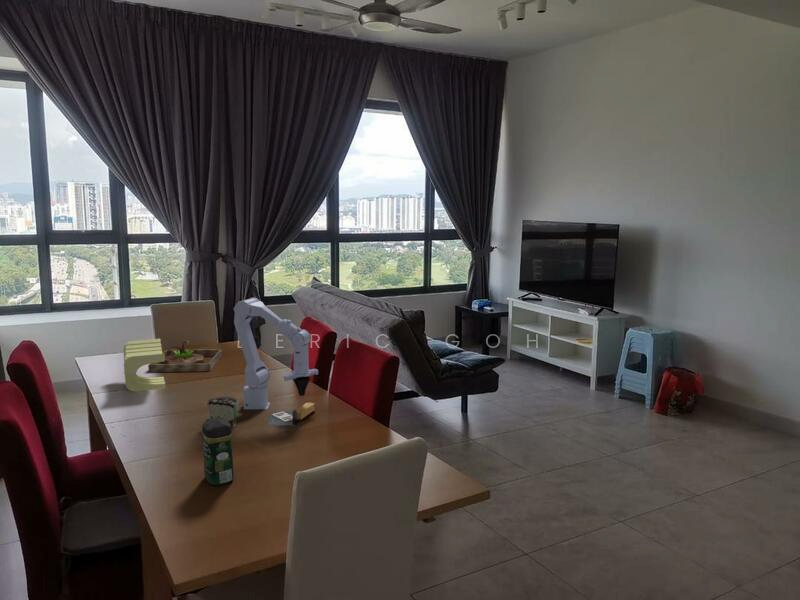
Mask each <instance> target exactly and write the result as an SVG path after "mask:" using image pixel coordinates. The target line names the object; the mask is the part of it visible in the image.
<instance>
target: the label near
mask: <svg viewBox="0 0 800 600" xmlns="http://www.w3.org/2000/svg"><path fill="white" fill-rule="evenodd" d="M279 419H280V420H282V421H284V422H289V421H293V416H291V415H287V416H283V417H280V418H279Z"/></svg>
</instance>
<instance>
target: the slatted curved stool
mask: <svg viewBox="0 0 800 600" xmlns="http://www.w3.org/2000/svg"><path fill="white" fill-rule="evenodd" d="M161 342H162V341H161V338H150V339H137V340H130V341H129V340H128V341H127V342H126V343H125V344H124V346H123V360H124V362H123V370H124V371H123V373H124V380H125V382H124V384H125V386H126V388H127V389H128V390H129V391H130V392H132V393H133V392H143V391H152V390H153V391H154V390H162V389H166V382H165V377H164V376H156V377H143V376H140V375H138V374H137V373H138V372H137V371H138V370H139V369H140V368H141V367H143V366H146V365H149V364H150V363H156V362H164V360H165V354H162V353H163V349H162V343H161Z"/></svg>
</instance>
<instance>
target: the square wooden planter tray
mask: <svg viewBox="0 0 800 600" xmlns="http://www.w3.org/2000/svg"><path fill="white" fill-rule="evenodd" d="M178 350H179V349H173V350H171V349H166V350H165V349H164V351H162V354H165V358H166V357H168V356H171V355H172V356H174V355H176V353H175V352H174V351H177V352H178ZM188 350H189V352H190V351H193V352H192V353H194V354H198V355H202V356H204V357H212V358H211V360H210V361H209V362H207V363H203V364H161V362H156V363H150V364H147V365H148V367H147V368H148V373H165V372H166V373H167V372H168V373H169V372H170V373H171V372H173V373H174V372H211V371H212V370H213V368H214V367H215V366H216V365H217V363H218V362H219V361H220V359H221V358H222V357H223V349H215V348H214V349H213V348H212V349H206V348H205V349H188ZM189 352H188V353H189Z"/></svg>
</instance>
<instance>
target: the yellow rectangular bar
mask: <svg viewBox="0 0 800 600" xmlns="http://www.w3.org/2000/svg"><path fill="white" fill-rule="evenodd" d="M316 409H317V406H316V402H311V401H310V402H309V401H307V402H306V403H303V404H302V405H301V406H300V407H298V408H297V409H295V410H296V411H297V419H301V420H303V419H304V418H306V417H308V416H309V415H310V414H311V413H312V412H314V411H315V410H316Z"/></svg>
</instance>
